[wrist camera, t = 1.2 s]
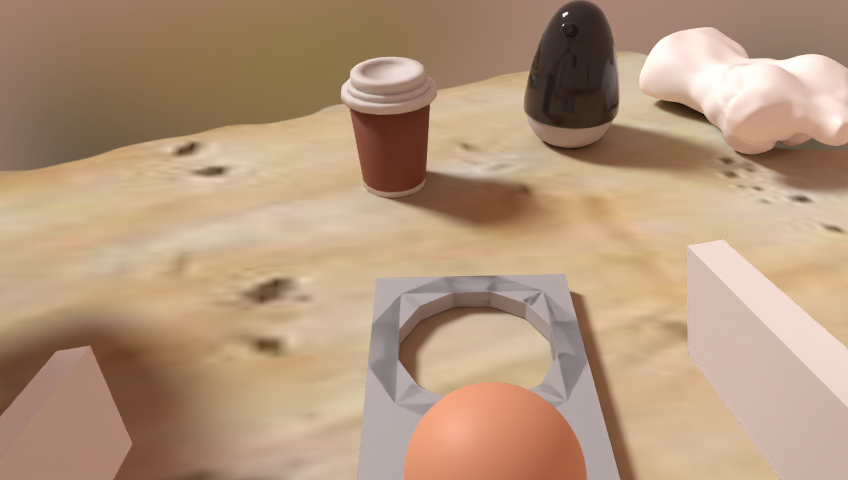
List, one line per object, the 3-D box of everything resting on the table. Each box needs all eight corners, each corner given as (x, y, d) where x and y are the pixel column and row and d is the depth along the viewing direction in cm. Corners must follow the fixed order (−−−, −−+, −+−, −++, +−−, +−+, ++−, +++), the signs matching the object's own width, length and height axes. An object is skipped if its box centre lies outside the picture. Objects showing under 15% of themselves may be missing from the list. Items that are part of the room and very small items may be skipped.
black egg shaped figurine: (508, 149, 74) (514, 10, 65) (538, 112, 81) (547, -17, 72) (600, 167, 70) (620, 21, 61) (622, 126, 77) (643, -8, 69)
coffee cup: (382, 215, 64) (373, 97, 57) (334, 178, 70) (320, 68, 63) (457, 184, 68) (456, 71, 61) (405, 152, 74) (399, 45, 67)
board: (656, 648, 32) (662, 633, 31) (344, 651, 32) (341, 636, 31) (563, 288, 54) (564, 274, 53) (378, 292, 54) (376, 278, 53)
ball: (378, 500, 37) (365, 389, 32) (510, 432, 41) (518, 322, 36) (466, 650, 31) (467, 542, 26) (613, 554, 34) (641, 442, 29)
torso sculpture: (613, 117, 83) (763, 201, 62) (620, 37, 78) (786, 98, 57) (733, 94, 87) (909, 164, 67) (746, 16, 82) (942, 67, 62)
